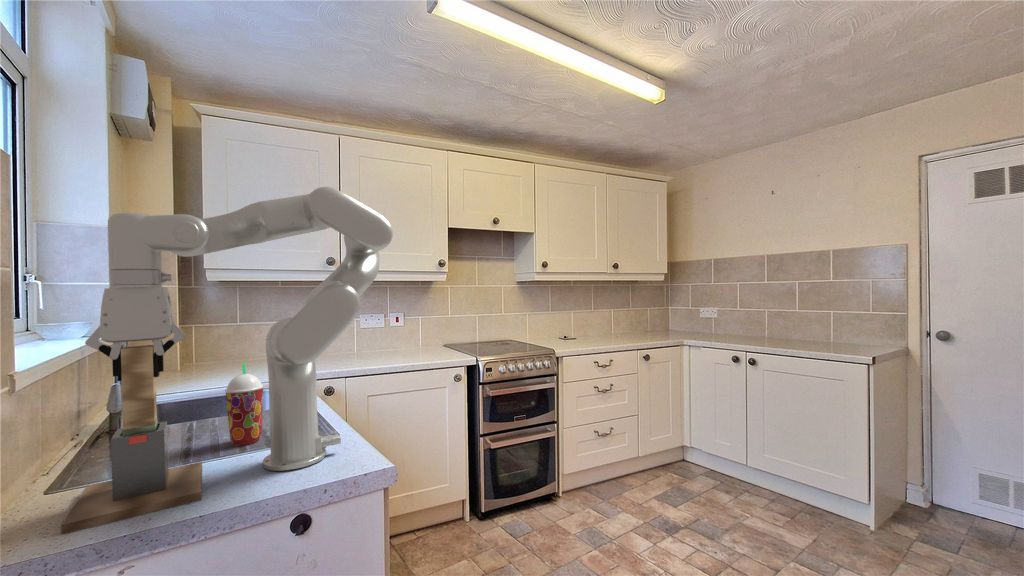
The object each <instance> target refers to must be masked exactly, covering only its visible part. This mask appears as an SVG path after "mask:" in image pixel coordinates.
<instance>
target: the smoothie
mask: <svg viewBox="0 0 1024 576" xmlns="http://www.w3.org/2000/svg"><path fill="white" fill-rule="evenodd" d="M246 369H247V367H246V362H242V374H239V375H237V376H235V377H233V378H232V379H231V380H230V381H229V383H228V385H227V387H226V389H225V390H224V393H225V401H226V410H227V411H226V413H227V419H228V428H229V439H230V441H232V445H233V446H237V447H242V446H249V445H252V444H255V443H257V442H259V440H260V437H261V435H262V434H263V433H262V432H263V428H262V427H263V408H264V407H263V405H264V384H263V383H262V382H261V380H260V378H258V377H257V376H256V375H255V374H251V373H246Z"/></svg>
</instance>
